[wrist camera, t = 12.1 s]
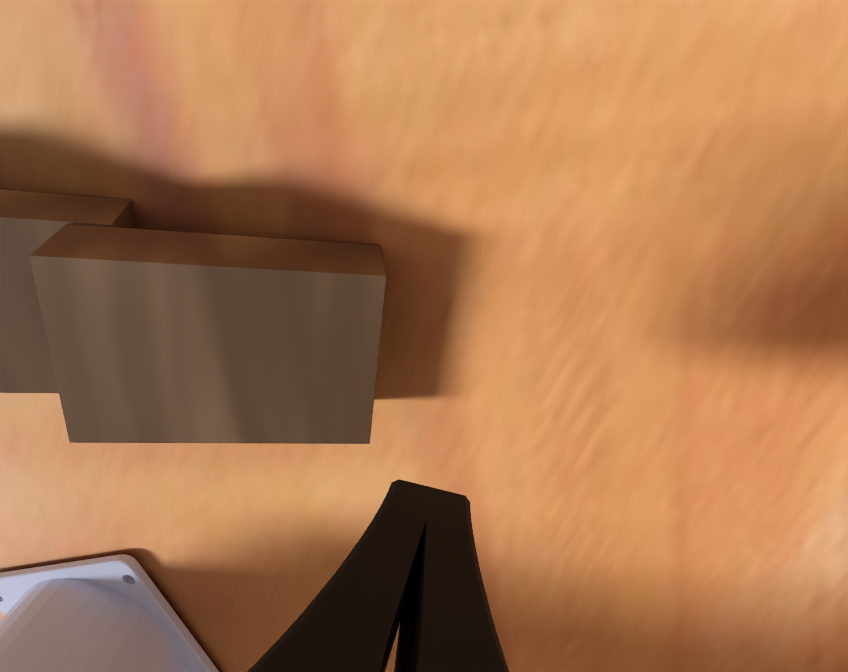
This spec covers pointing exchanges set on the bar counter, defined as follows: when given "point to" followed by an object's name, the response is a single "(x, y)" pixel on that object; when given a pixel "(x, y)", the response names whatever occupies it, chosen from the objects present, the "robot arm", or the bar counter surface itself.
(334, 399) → the domino
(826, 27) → the bar counter surface
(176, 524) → the bar counter surface
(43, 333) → the domino
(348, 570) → the robot arm
